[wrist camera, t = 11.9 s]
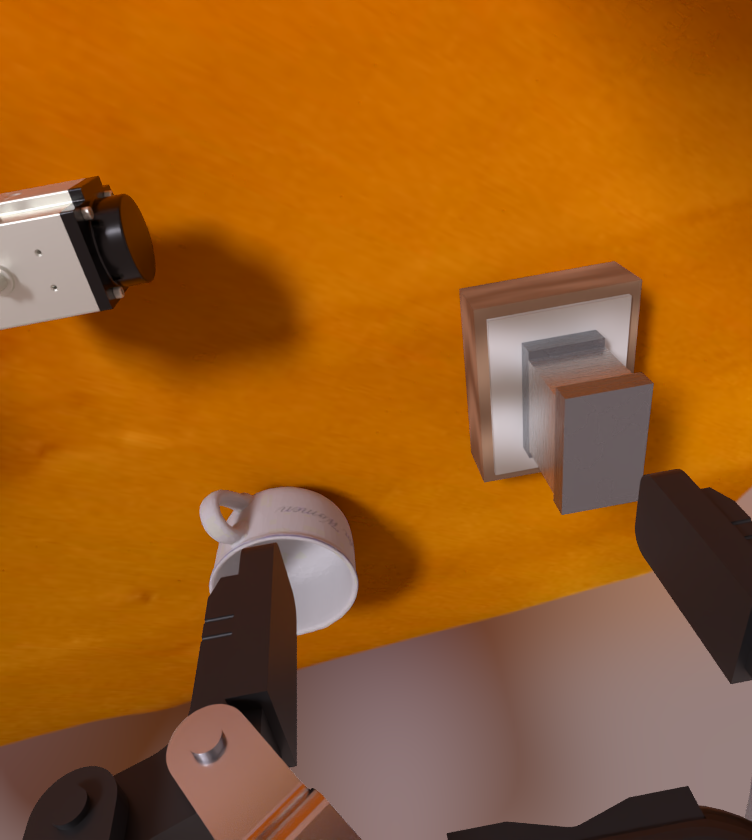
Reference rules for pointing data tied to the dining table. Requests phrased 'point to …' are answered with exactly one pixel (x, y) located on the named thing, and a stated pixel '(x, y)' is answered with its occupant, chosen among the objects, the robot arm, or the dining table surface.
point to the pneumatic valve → (69, 251)
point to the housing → (584, 420)
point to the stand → (528, 321)
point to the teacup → (289, 546)
